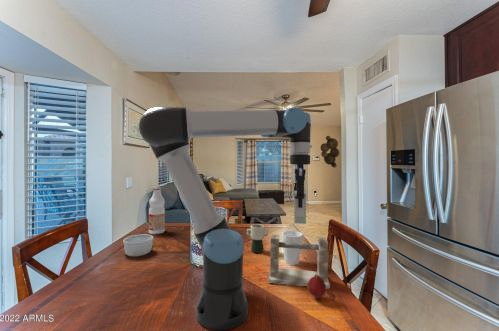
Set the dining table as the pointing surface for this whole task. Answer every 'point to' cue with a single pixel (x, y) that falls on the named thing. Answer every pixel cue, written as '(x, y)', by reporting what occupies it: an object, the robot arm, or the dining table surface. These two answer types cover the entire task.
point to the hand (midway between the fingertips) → (299, 213)
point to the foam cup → (291, 253)
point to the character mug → (257, 236)
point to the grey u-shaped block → (303, 219)
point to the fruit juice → (156, 212)
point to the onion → (316, 286)
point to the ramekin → (138, 244)
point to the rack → (298, 275)
